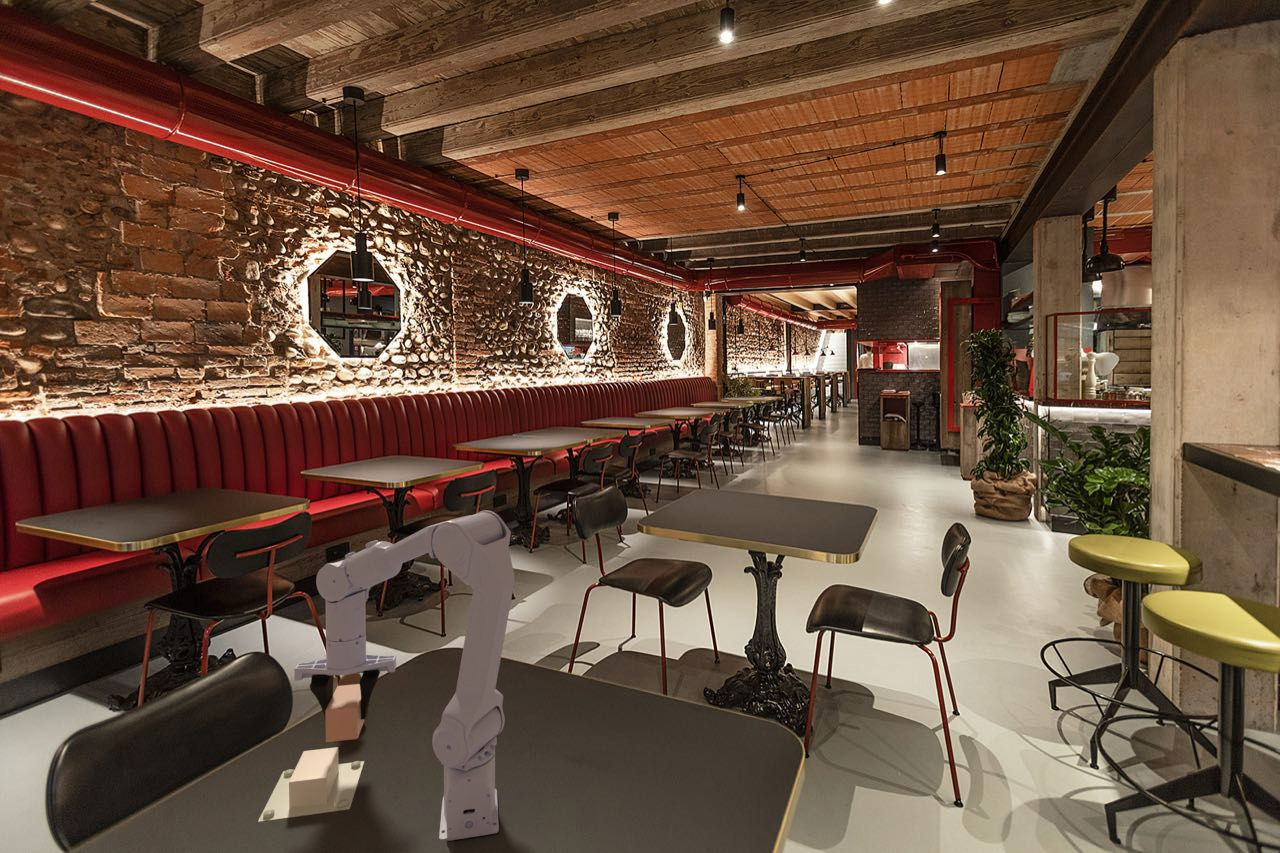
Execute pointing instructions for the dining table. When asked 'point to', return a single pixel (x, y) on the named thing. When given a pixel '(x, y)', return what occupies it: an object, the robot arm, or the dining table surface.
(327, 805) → the baseplate
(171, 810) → the dining table surface
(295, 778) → the bottom brick
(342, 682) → the snail figurine
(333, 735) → the top brick
